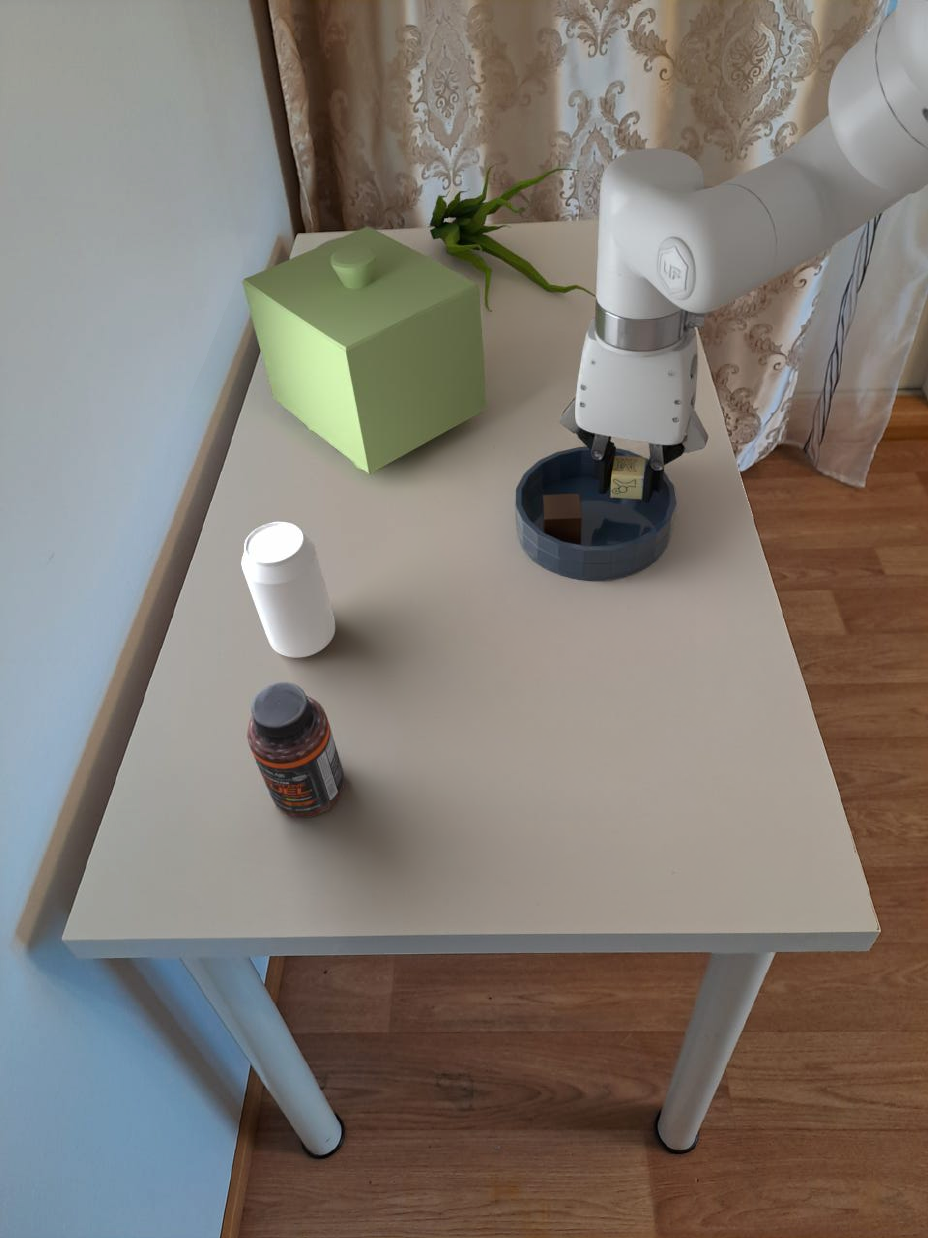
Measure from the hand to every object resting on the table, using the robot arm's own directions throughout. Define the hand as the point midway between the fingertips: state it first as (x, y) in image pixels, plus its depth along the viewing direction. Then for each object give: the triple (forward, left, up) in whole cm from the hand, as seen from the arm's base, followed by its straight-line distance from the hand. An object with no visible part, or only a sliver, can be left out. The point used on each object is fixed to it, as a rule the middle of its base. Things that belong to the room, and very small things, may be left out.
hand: (627, 487), depth 88 cm
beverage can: (+24, +24, -4) cm, 34 cm away
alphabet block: (0, 0, 0) cm, 0 cm away
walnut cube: (+5, +5, -3) cm, 8 cm away
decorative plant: (+27, -43, -4) cm, 50 cm away
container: (+31, -8, -4) cm, 32 cm away
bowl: (+3, +2, -4) cm, 5 cm away
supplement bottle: (+16, +38, -4) cm, 42 cm away
